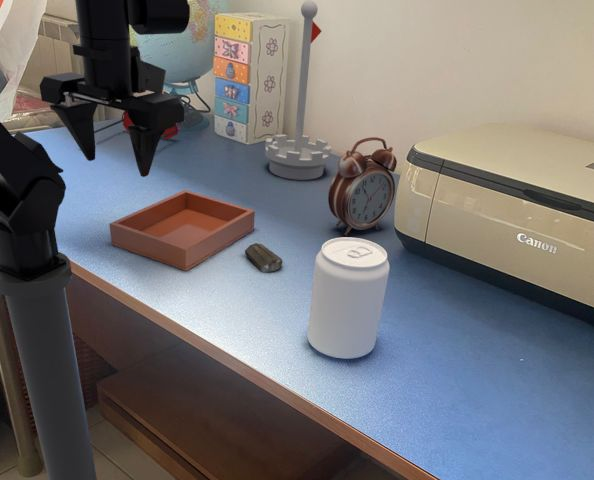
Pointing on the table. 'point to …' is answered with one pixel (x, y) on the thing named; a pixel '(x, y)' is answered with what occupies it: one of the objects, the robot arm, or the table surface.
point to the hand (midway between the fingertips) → (117, 167)
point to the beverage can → (347, 297)
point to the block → (263, 258)
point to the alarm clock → (363, 187)
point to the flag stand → (300, 122)
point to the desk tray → (182, 229)
